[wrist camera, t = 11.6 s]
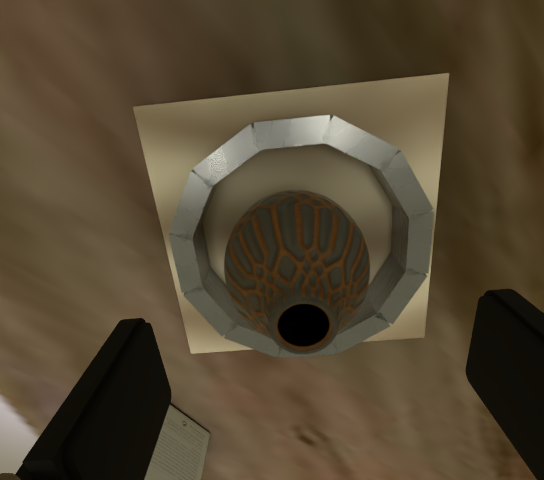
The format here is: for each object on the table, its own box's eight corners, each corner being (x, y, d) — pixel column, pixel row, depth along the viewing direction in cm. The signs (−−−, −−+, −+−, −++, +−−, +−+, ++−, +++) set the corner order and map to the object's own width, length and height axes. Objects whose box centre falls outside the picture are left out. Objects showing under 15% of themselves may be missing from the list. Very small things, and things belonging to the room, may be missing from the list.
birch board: (138, 107, 17) (132, 106, 17) (441, 74, 17) (449, 73, 16) (193, 345, 23) (191, 353, 23) (419, 329, 23) (424, 337, 22)
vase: (374, 231, 19) (448, 321, 11) (295, 306, 21) (307, 429, 13) (288, 151, 17) (299, 187, 9) (210, 240, 19) (163, 334, 11)
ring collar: (162, 130, 17) (145, 133, 15) (420, 104, 16) (444, 103, 14) (206, 337, 22) (197, 363, 20) (405, 322, 21) (421, 348, 19)
